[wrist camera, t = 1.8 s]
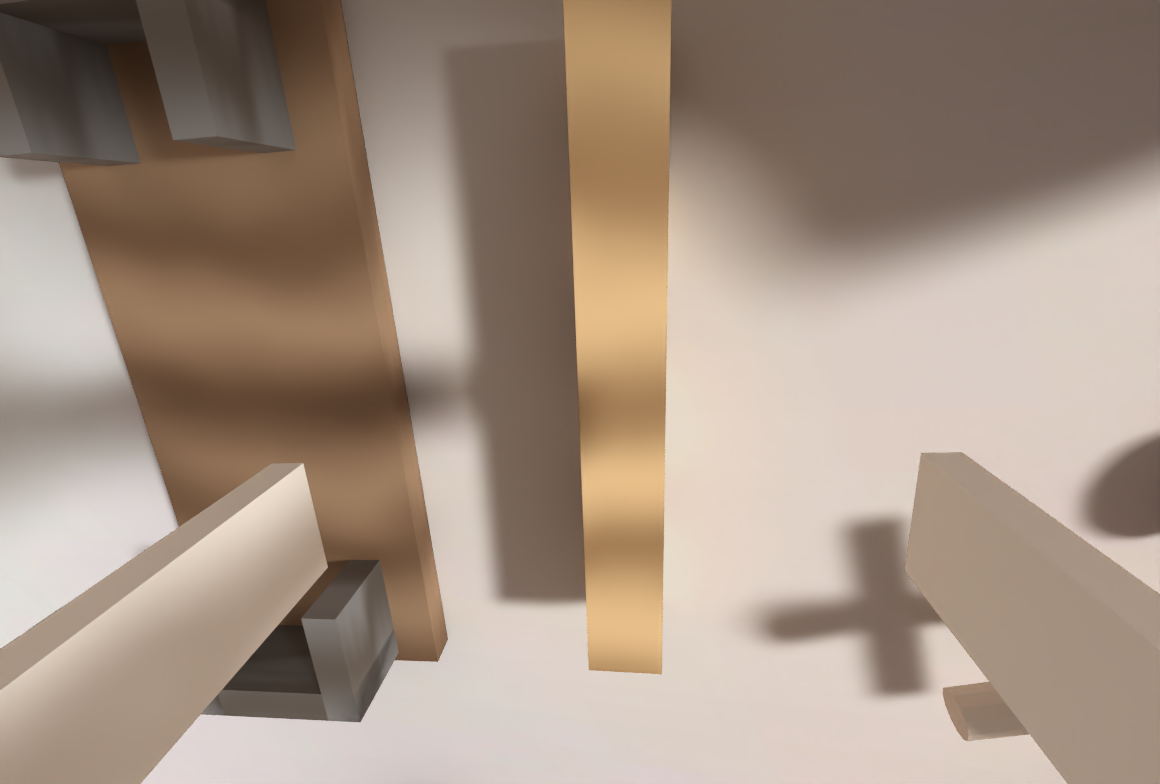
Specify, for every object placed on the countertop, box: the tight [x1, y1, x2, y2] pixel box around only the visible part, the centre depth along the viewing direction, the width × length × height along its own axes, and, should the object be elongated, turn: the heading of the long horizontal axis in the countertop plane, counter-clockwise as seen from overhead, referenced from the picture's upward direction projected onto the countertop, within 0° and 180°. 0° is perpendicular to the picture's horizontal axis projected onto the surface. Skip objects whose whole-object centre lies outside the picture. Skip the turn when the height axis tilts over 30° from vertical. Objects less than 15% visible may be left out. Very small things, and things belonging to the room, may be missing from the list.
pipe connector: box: [943, 682, 1029, 741], centre depth 20 cm, size 10×10×10 cm
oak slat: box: [563, 0, 671, 674], centre depth 21 cm, size 24×3×5 cm, turn 2°
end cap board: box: [0, 0, 448, 722], centre depth 22 cm, size 30×12×6 cm, turn 3°
